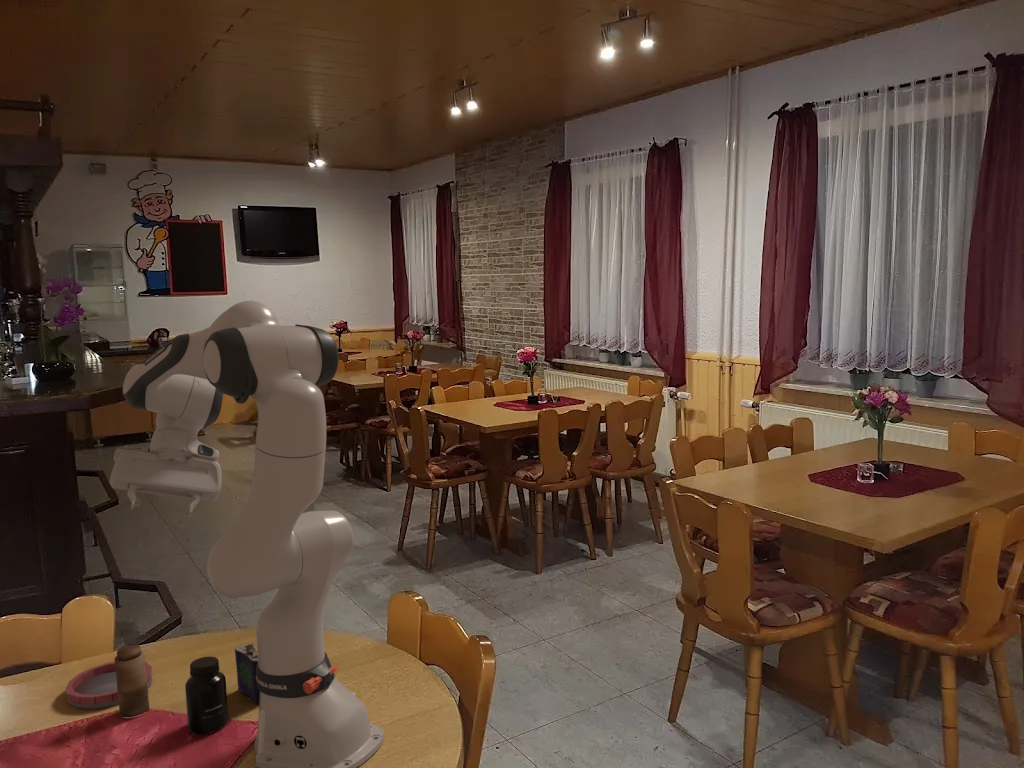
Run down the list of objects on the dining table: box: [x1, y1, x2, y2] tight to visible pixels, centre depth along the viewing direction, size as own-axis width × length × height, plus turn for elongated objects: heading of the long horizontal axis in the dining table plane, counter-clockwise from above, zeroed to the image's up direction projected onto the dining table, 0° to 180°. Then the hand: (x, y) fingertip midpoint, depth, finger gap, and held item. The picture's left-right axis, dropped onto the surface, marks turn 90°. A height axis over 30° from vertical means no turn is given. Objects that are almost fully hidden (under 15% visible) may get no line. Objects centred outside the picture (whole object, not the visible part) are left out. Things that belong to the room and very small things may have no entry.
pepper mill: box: [113, 644, 150, 717], centre depth 146 cm, size 5×5×12 cm
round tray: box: [65, 661, 153, 711], centre depth 155 cm, size 15×15×2 cm
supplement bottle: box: [184, 656, 229, 735], centre depth 140 cm, size 7×7×12 cm
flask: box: [234, 641, 260, 707], centre depth 150 cm, size 9×3×11 cm, turn 45°
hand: (161, 512), depth 150 cm, fingers open, 8 cm apart
